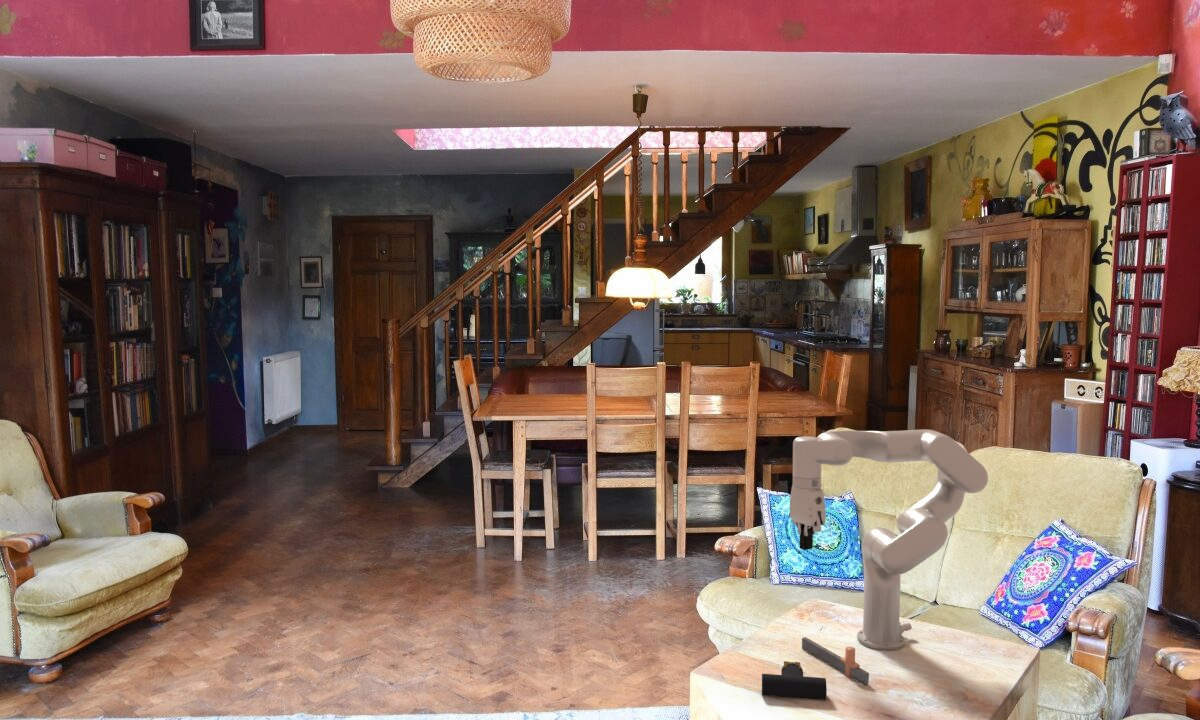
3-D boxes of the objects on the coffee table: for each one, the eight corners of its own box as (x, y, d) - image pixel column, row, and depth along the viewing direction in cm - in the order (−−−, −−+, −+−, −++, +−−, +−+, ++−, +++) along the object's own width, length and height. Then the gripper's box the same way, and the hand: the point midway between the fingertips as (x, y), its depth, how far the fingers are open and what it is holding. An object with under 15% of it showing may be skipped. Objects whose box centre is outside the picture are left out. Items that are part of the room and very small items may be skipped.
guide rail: (807, 647, 233) (807, 622, 232) (870, 684, 211) (871, 656, 211) (800, 648, 232) (800, 624, 231) (863, 686, 210) (863, 658, 210)
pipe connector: (761, 657, 215) (822, 661, 213) (761, 677, 216) (822, 681, 213) (762, 679, 204) (826, 683, 202) (762, 700, 205) (826, 704, 202)
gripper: (836, 486, 226) (835, 554, 227) (799, 475, 239) (799, 539, 241) (814, 490, 222) (813, 558, 224) (778, 478, 236) (777, 543, 237)
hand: (806, 548), depth 232 cm, fingers closed
